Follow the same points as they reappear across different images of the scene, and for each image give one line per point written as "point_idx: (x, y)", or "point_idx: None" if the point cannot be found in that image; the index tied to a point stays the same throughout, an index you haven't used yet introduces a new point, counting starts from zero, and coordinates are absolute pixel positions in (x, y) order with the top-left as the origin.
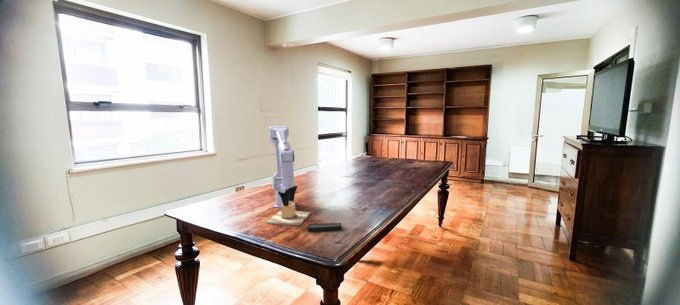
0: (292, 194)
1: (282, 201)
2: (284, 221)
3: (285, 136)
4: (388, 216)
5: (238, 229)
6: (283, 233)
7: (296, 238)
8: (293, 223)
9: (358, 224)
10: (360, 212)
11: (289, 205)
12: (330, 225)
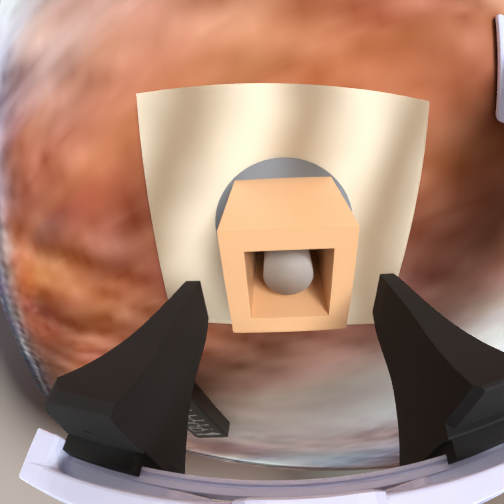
0: (398, 368)
1: (157, 312)
2: (176, 230)
3: None
4: (335, 467)
5: (31, 8)
6: (71, 271)
7: (69, 330)
8: (167, 294)
9: (263, 446)
10: (377, 435)
11: (244, 312)
12: (192, 419)
